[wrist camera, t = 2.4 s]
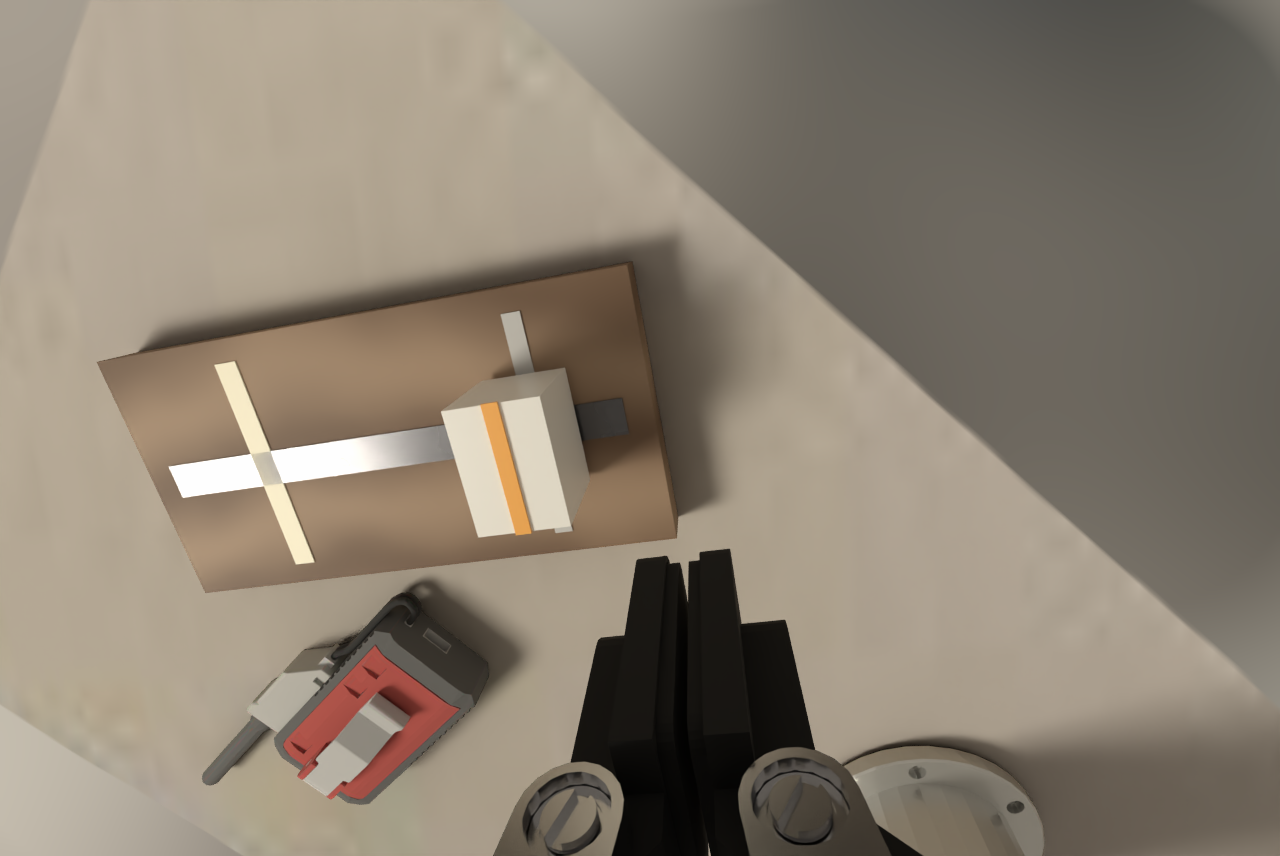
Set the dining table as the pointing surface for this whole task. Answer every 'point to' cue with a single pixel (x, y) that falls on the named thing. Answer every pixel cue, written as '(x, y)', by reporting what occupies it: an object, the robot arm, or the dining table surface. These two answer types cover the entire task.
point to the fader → (519, 453)
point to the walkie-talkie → (364, 704)
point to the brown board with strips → (390, 431)
